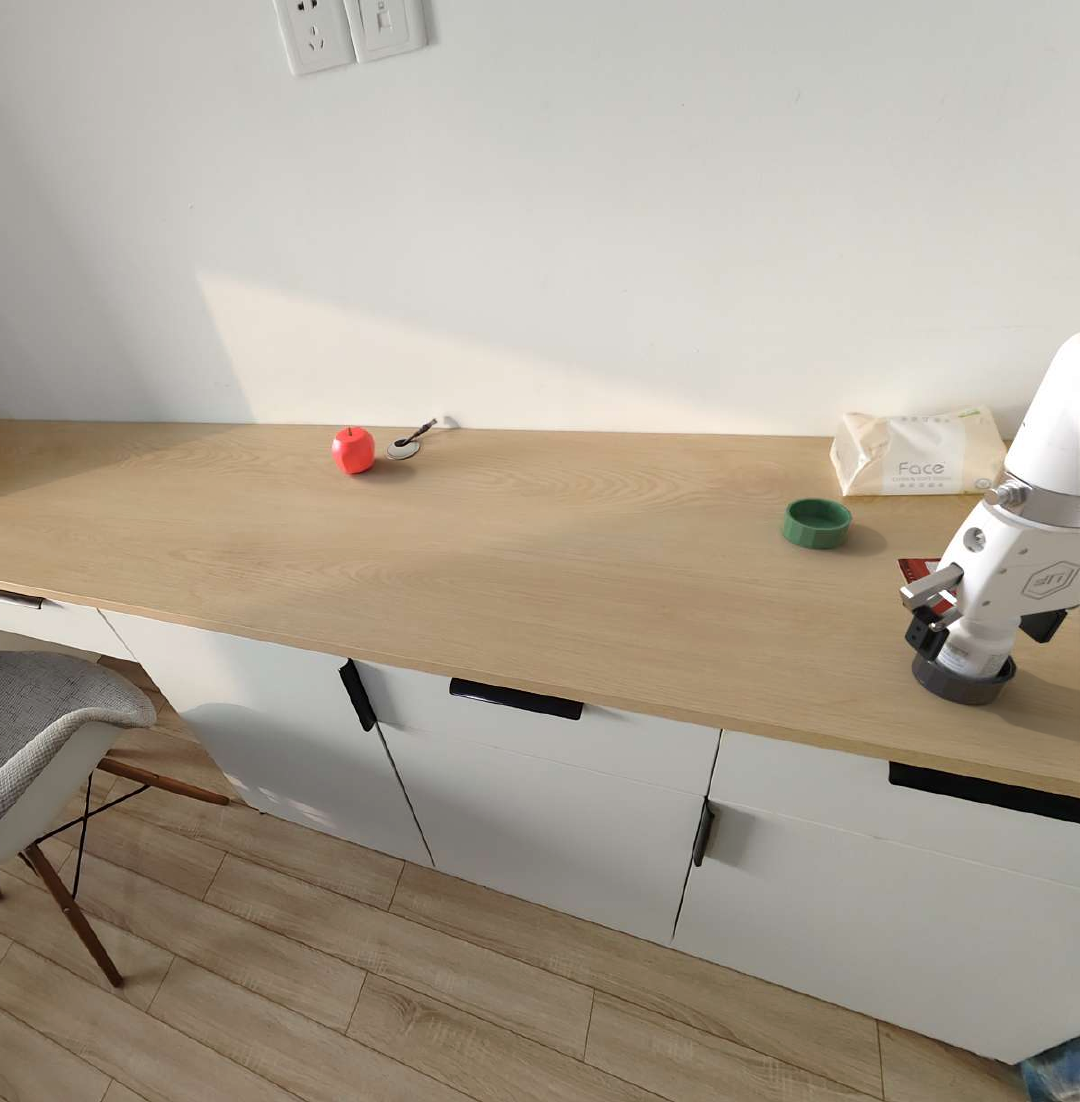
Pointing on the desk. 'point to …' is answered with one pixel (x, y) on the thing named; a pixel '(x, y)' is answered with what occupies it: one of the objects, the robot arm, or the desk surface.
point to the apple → (353, 450)
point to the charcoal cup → (962, 682)
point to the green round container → (816, 523)
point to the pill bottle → (978, 647)
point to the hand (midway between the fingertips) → (973, 641)
